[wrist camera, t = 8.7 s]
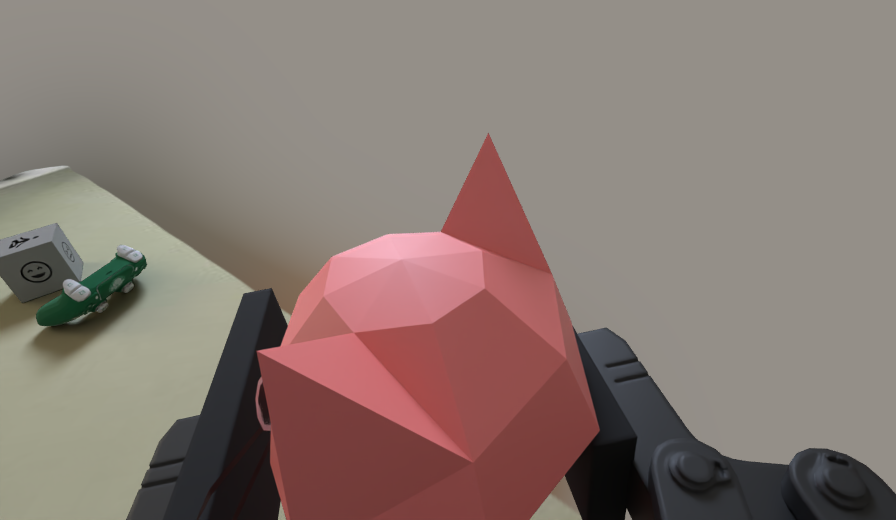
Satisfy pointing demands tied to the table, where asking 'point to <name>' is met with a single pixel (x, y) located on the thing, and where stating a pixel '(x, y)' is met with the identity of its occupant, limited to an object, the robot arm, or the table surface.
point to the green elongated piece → (93, 289)
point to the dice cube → (38, 262)
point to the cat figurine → (427, 374)
